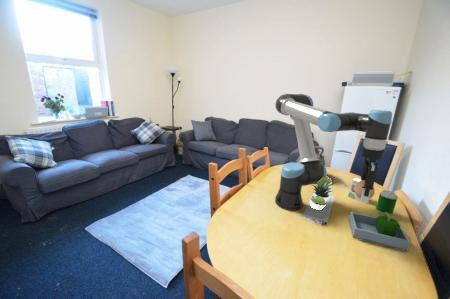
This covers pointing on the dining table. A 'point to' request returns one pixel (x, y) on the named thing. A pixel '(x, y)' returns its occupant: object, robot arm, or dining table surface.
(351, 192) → the ink box
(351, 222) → the tray
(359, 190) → the egg
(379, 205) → the soda can
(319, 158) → the pot
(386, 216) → the bell pepper
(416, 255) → the dining table surface
